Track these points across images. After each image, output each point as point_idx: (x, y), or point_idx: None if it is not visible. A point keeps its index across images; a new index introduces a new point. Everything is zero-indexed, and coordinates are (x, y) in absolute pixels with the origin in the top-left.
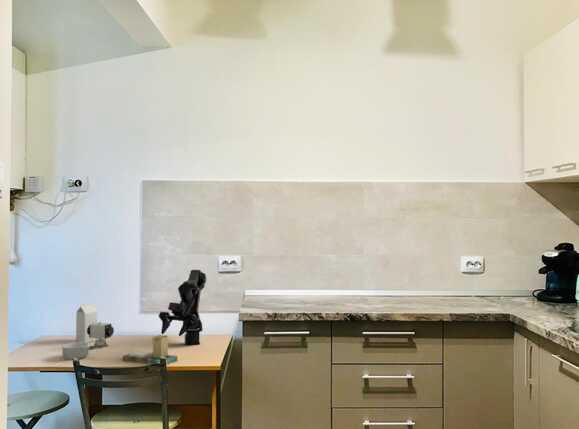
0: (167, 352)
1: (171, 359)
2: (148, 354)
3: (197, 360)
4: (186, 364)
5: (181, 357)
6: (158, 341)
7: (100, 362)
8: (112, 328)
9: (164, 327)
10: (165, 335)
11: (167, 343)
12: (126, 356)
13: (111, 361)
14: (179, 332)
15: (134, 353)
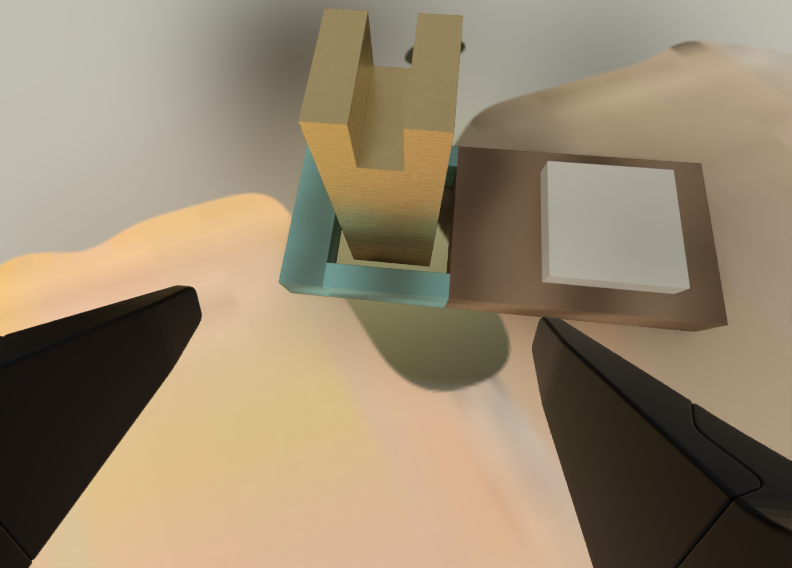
0: (342, 226)
1: (295, 213)
2: (539, 254)
3: None
4: (188, 231)
5: (300, 391)
6: (397, 92)
7: (771, 110)
8: None
9: (600, 411)
10: (342, 124)
11: (325, 180)
12: (662, 161)
13: (726, 147)
14: (160, 297)
15: (628, 178)
